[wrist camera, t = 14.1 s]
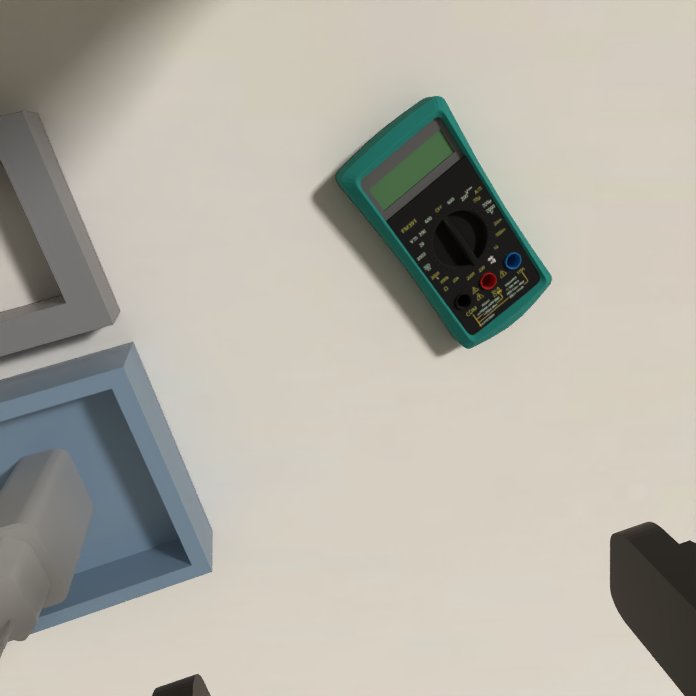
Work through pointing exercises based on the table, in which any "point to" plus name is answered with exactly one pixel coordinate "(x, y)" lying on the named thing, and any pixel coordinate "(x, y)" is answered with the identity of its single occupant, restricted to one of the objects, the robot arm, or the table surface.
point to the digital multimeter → (445, 222)
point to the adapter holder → (51, 243)
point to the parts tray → (110, 476)
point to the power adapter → (39, 538)
